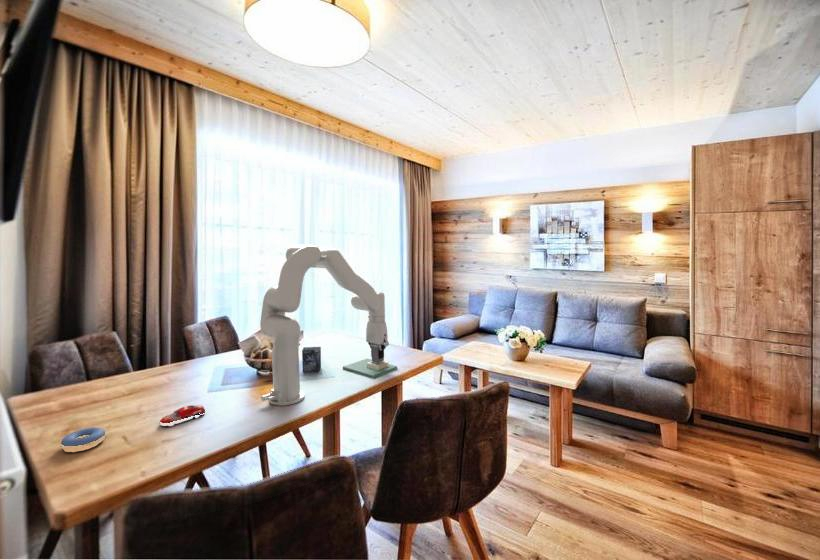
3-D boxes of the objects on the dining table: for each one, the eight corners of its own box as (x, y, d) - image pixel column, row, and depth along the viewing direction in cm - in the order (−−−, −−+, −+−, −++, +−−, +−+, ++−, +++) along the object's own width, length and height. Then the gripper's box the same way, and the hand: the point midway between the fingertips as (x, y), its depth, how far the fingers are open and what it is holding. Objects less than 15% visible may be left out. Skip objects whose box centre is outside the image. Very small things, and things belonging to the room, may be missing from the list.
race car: (162, 430, 117) (161, 418, 117) (157, 425, 121) (156, 413, 120) (207, 416, 127) (206, 404, 126) (201, 411, 130) (200, 400, 130)
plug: (377, 362, 171) (377, 345, 170) (371, 361, 173) (371, 344, 173) (383, 360, 174) (383, 344, 173) (377, 359, 176) (377, 342, 176)
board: (373, 378, 162) (373, 371, 161) (342, 369, 174) (342, 362, 174) (397, 368, 174) (397, 362, 174) (367, 360, 186) (367, 354, 186)
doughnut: (49, 455, 103) (50, 438, 102) (79, 438, 113) (80, 423, 112) (87, 457, 103) (88, 441, 103) (113, 440, 113) (114, 425, 113)
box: (302, 372, 169) (301, 350, 168) (304, 368, 175) (303, 347, 174) (320, 372, 170) (319, 349, 169) (321, 368, 176) (320, 346, 175)
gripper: (358, 317, 174) (359, 356, 176) (384, 322, 163) (385, 362, 165) (369, 315, 180) (370, 352, 181) (395, 319, 169) (396, 358, 171)
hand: (377, 356), depth 173 cm, fingers closed on plug, 4 cm apart
